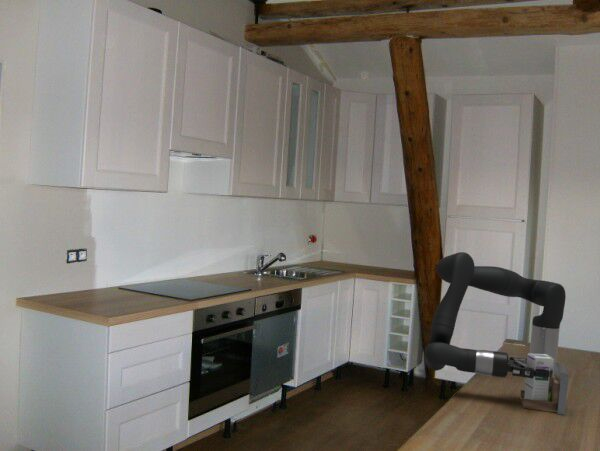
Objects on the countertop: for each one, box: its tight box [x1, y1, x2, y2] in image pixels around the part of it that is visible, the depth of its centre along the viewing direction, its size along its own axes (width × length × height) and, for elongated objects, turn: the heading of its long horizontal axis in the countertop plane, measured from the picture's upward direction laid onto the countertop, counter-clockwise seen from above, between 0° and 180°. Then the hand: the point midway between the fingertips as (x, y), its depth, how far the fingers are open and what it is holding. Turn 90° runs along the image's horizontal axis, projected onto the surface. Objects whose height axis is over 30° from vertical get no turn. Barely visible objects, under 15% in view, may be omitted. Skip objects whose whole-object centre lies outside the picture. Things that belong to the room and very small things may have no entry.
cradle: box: [519, 375, 559, 414], centre depth 192 cm, size 10×9×8 cm
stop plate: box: [554, 362, 569, 416], centre depth 191 cm, size 12×2×12 cm, turn 166°
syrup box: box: [524, 352, 554, 402], centre depth 193 cm, size 6×6×14 cm
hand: (547, 370), depth 192 cm, fingers open, 8 cm apart
